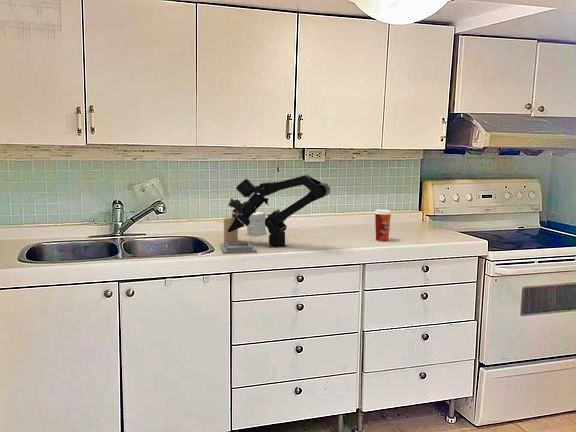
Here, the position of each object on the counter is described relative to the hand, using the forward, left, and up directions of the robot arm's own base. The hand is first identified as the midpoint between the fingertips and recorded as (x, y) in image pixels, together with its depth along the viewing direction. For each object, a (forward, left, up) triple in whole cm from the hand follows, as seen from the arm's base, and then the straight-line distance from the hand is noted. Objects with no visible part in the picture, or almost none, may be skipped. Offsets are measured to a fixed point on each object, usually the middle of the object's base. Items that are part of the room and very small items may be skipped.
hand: (227, 230), depth 248 cm
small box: (-16, -23, -7) cm, 29 cm away
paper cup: (-71, +2, -7) cm, 72 cm away
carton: (-1, 0, -7) cm, 7 cm away
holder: (-3, +11, -7) cm, 13 cm away
